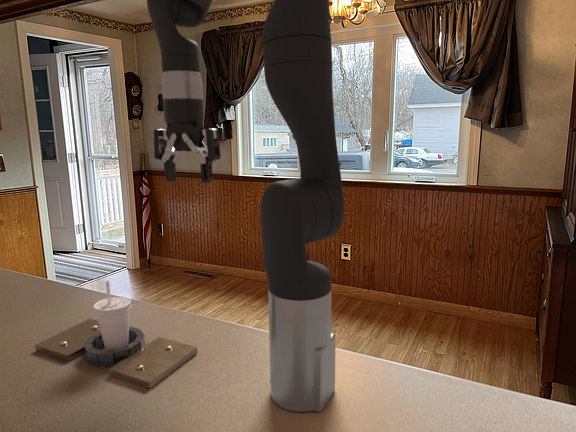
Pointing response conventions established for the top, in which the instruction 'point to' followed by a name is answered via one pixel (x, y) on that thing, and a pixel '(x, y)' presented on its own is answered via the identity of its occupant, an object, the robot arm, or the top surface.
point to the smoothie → (113, 320)
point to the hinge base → (120, 353)
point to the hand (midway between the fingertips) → (188, 181)
